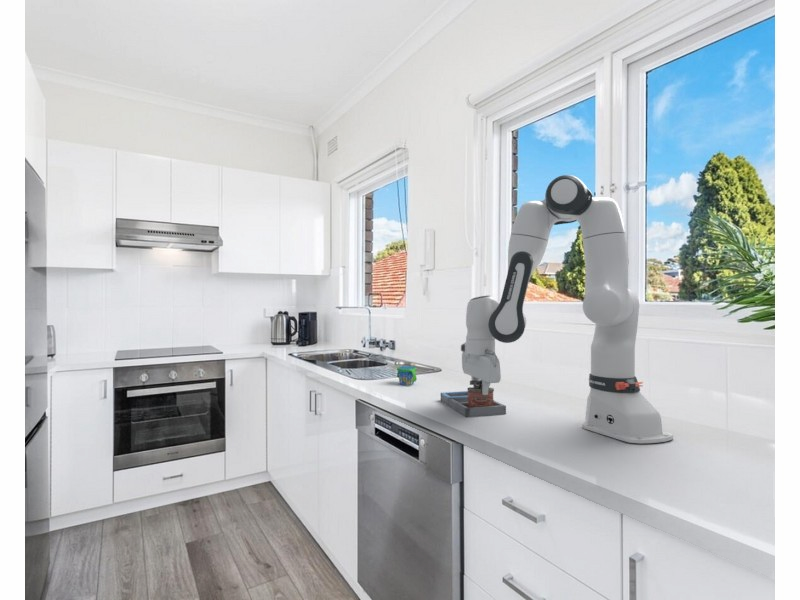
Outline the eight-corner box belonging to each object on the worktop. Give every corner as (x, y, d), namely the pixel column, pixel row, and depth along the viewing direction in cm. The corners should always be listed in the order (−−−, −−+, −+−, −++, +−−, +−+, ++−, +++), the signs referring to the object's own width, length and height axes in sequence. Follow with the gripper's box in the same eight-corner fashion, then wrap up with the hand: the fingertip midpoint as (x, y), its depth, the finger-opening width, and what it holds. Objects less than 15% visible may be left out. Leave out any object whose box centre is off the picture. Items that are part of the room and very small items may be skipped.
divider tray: (508, 413, 138) (508, 390, 138) (466, 417, 134) (466, 393, 134) (477, 398, 159) (477, 378, 159) (440, 401, 156) (440, 380, 156)
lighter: (493, 411, 141) (493, 379, 141) (494, 414, 138) (494, 381, 138) (467, 410, 142) (467, 379, 142) (467, 413, 139) (467, 381, 139)
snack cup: (422, 387, 180) (421, 368, 180) (405, 389, 177) (405, 370, 177) (408, 382, 190) (408, 365, 190) (391, 384, 187) (391, 366, 187)
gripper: (506, 351, 131) (506, 399, 131) (476, 344, 150) (476, 386, 150) (486, 352, 129) (486, 400, 129) (458, 345, 149) (458, 387, 149)
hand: (480, 392), depth 140 cm, fingers closed on lighter, 4 cm apart
